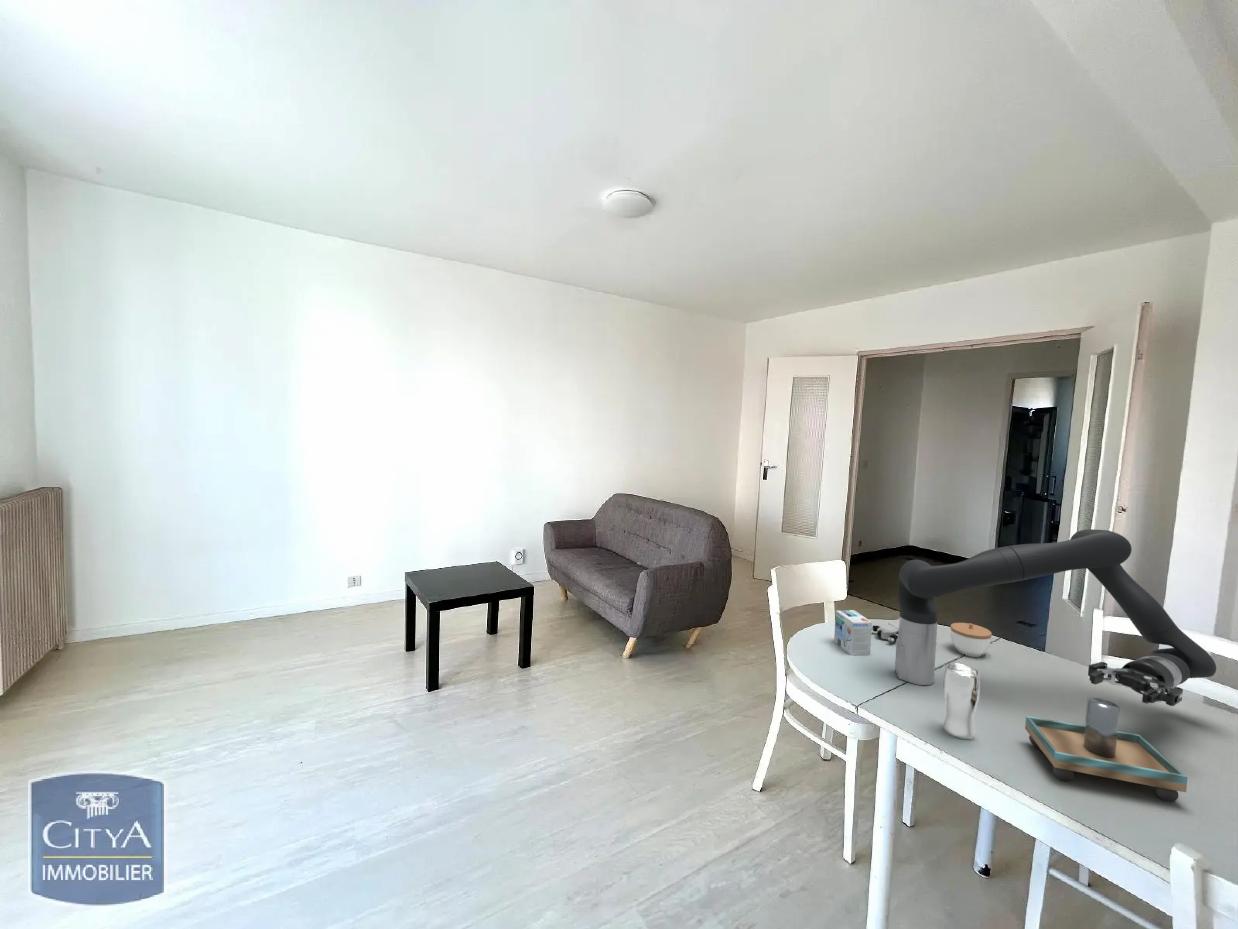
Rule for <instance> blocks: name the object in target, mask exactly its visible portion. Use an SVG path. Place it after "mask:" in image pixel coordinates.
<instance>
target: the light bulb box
mask: <svg viewBox="0 0 1238 929" xmlns="http://www.w3.org/2000/svg"><path fill="white" fill-rule="evenodd" d="M834 615H835V619H834V634H833V636H834V637H833V638H834V640H833V641H834V643H836V645H838V646H839V647H840V648H842V649H843V651H845V652H846V653H847V654H848V655H849V654H850V656H870V655H871V646H872V630H871V629H872V627H873V622H872V621H871V620H870V619H868V618H867V617H865V616H863V615H862V614H861V613H859V612H858V611H856V610H855V609H847V610H846V609H845V610H842V609H840V610H835V614H834Z"/></svg>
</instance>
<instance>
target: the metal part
mask: <svg viewBox="0 0 1238 929" xmlns="http://www.w3.org/2000/svg"><path fill="white" fill-rule="evenodd" d="M1119 716H1120V706H1119V705H1118V704H1116V703H1114V702H1113V701H1110V700H1107V699H1104V698H1100V697H1094V696H1093V697H1092V696H1091V697H1088V698H1086V709H1085V719H1084V720H1085V723H1084V726H1085V732H1084V744H1083V746H1084V748H1085V749H1087V750H1088V751H1090V752H1092V753H1094V754H1096V755H1099V756H1102V757H1107V758H1114V757H1115V756H1116V744H1117V732H1118V731H1119V730H1118V728H1119V719H1120V718H1119Z"/></svg>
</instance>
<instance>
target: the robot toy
mask: <svg viewBox="0 0 1238 929" xmlns="http://www.w3.org/2000/svg"><path fill="white" fill-rule="evenodd" d="M871 631H872V632H875V633H877V634H876V635H877V637H879V638H881V639H883V640H885V641H889V642H892V643H895V642H896V640H897V639H898V636H899V618H897V619H893V620H890V621H889V622H888V623H887V624H886V625H884V624H883V625H873V624H872V629H871Z"/></svg>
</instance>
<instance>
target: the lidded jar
mask: <svg viewBox="0 0 1238 929" xmlns="http://www.w3.org/2000/svg"><path fill="white" fill-rule="evenodd" d="M949 627H950V628H949V629H950V640H951V642H952V645H953V646H954V648H955V649H956V650H957V651H959V653H960V654H962V655H964V654H965V655H964V656H967V657H973V658H979V657H981V656H982V655H984V654H985V653H987V652H988V650H989V649H990V647H991V640H992V631H991V630H989V629H988V628H986V627H984V626H983V627H982V626H980V625H977V624H973V623H967V622H954V623H951V624H950V626H949Z"/></svg>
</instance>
